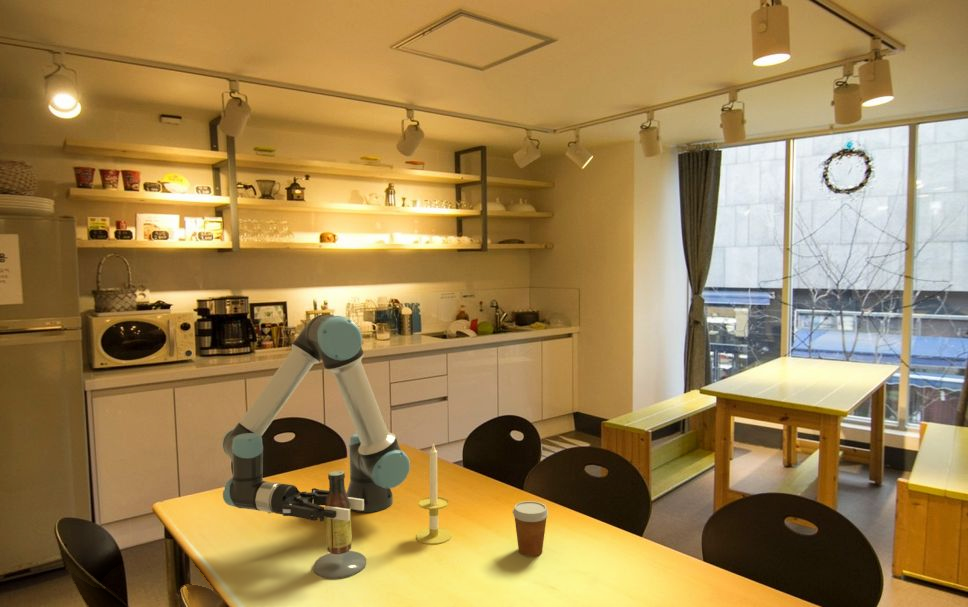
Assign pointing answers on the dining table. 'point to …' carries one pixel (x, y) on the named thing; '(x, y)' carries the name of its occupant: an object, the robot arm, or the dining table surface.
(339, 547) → the sauce bottle
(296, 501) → the robot arm
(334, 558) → the disc
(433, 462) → the candle
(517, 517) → the disposable coffee cup
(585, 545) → the dining table surface
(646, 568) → the dining table surface
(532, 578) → the dining table surface
